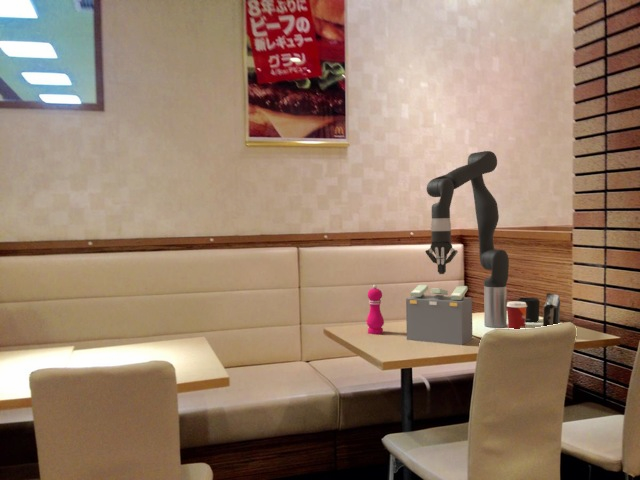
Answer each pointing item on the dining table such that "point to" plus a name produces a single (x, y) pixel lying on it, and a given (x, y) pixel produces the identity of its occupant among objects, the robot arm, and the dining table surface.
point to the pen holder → (531, 309)
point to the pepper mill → (375, 312)
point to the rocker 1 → (419, 290)
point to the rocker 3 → (458, 292)
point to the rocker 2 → (438, 291)
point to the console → (439, 319)
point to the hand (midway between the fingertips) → (441, 273)
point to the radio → (551, 310)
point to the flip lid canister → (516, 314)
